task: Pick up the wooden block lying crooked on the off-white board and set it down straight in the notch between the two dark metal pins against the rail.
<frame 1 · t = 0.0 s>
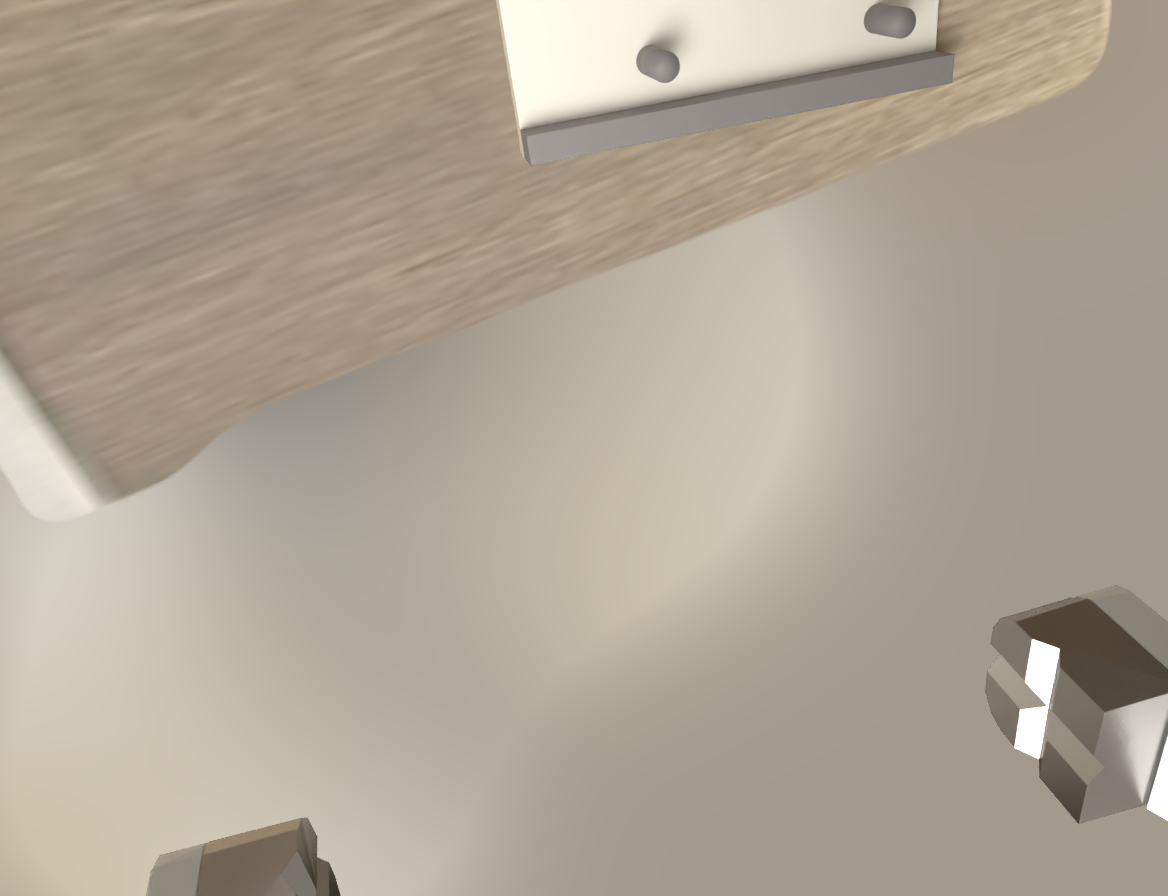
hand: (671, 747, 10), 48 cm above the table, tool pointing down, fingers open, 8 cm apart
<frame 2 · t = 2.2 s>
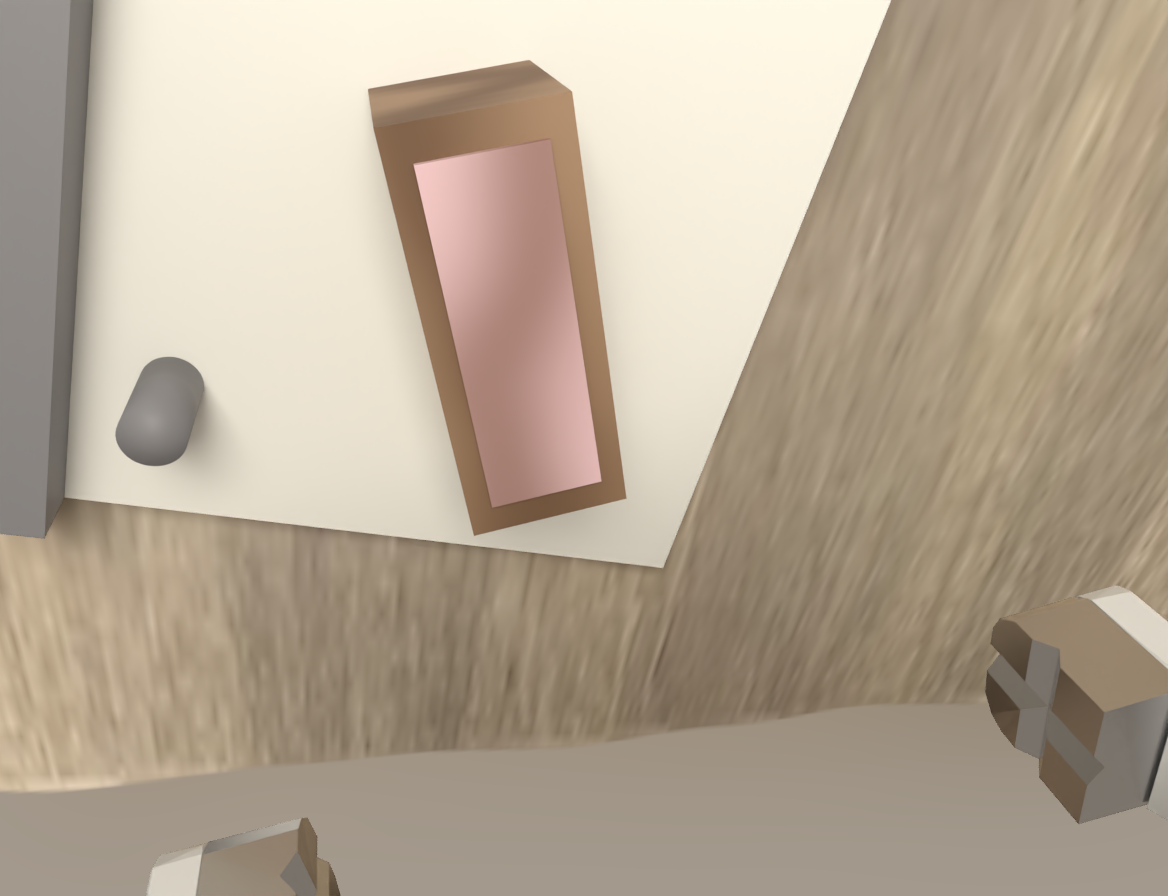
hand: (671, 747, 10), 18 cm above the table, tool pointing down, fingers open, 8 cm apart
wooden block: (487, 268, 25), point 1 cm above the table, touching board
board: (463, 95, 24), on the table
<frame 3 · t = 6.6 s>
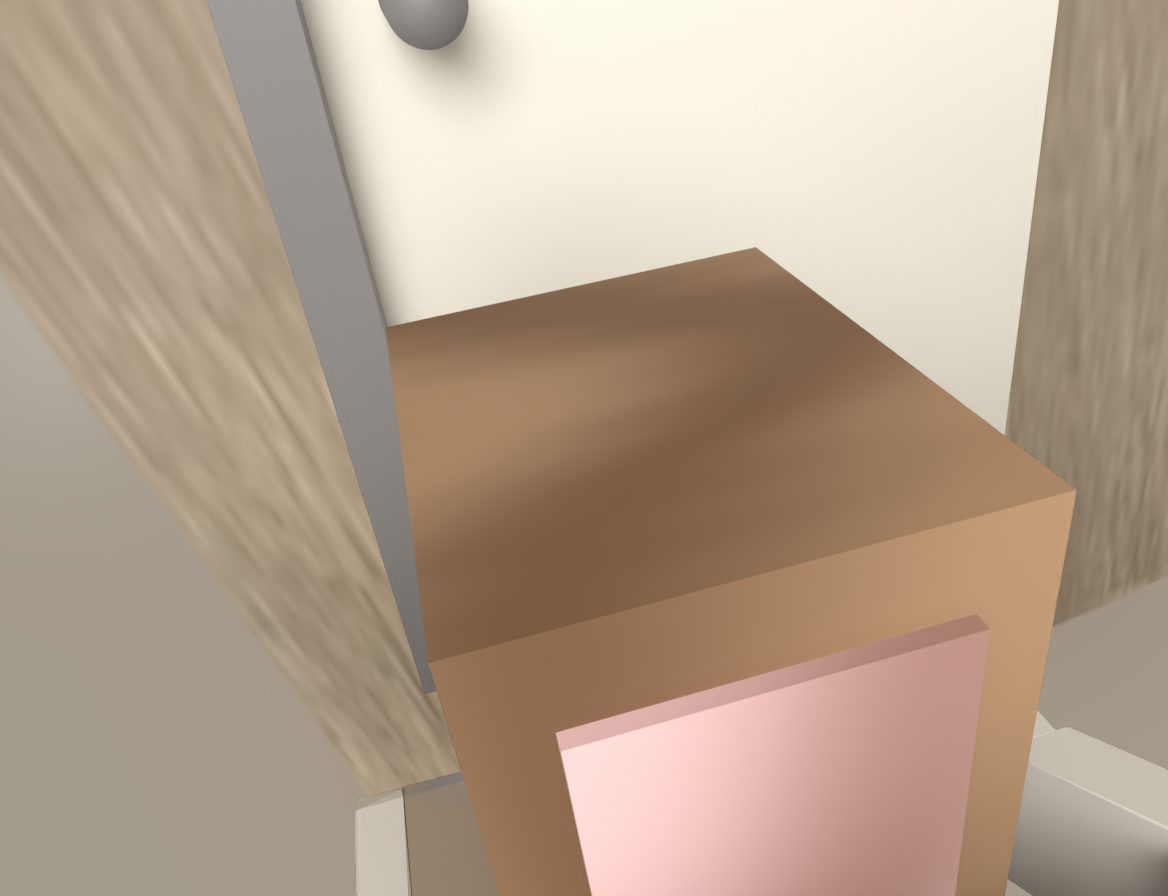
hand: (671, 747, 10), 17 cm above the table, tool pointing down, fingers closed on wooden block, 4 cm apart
wooden block: (627, 639, 12), point 15 cm above the table, touching gripper
board: (678, 161, 24), on the table
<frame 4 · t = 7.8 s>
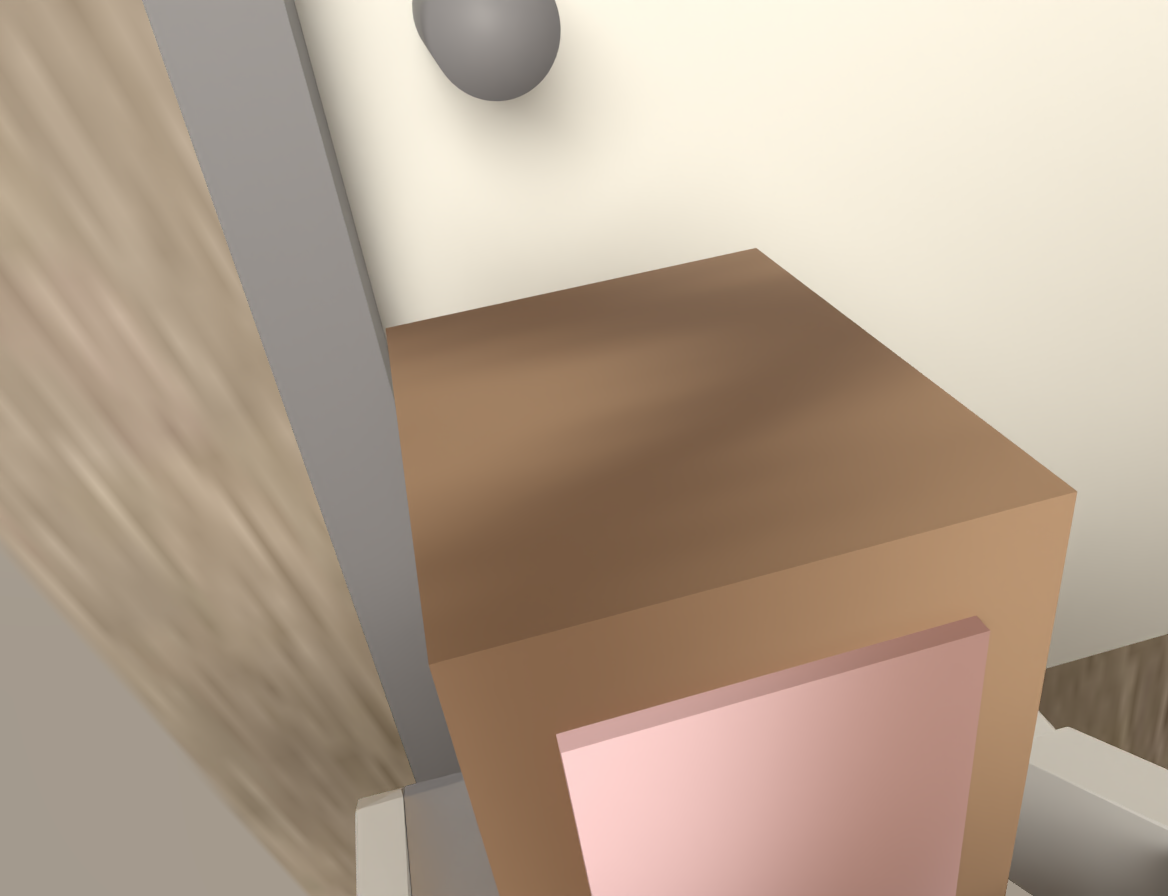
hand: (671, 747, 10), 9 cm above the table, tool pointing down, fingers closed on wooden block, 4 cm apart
wooden block: (627, 640, 12), point 7 cm above the table, touching gripper
board: (811, 232, 18), on the table
when the fingers open (5 cm above the table, at t = 9.0 s): wooden block drops 2 cm, resting on board.
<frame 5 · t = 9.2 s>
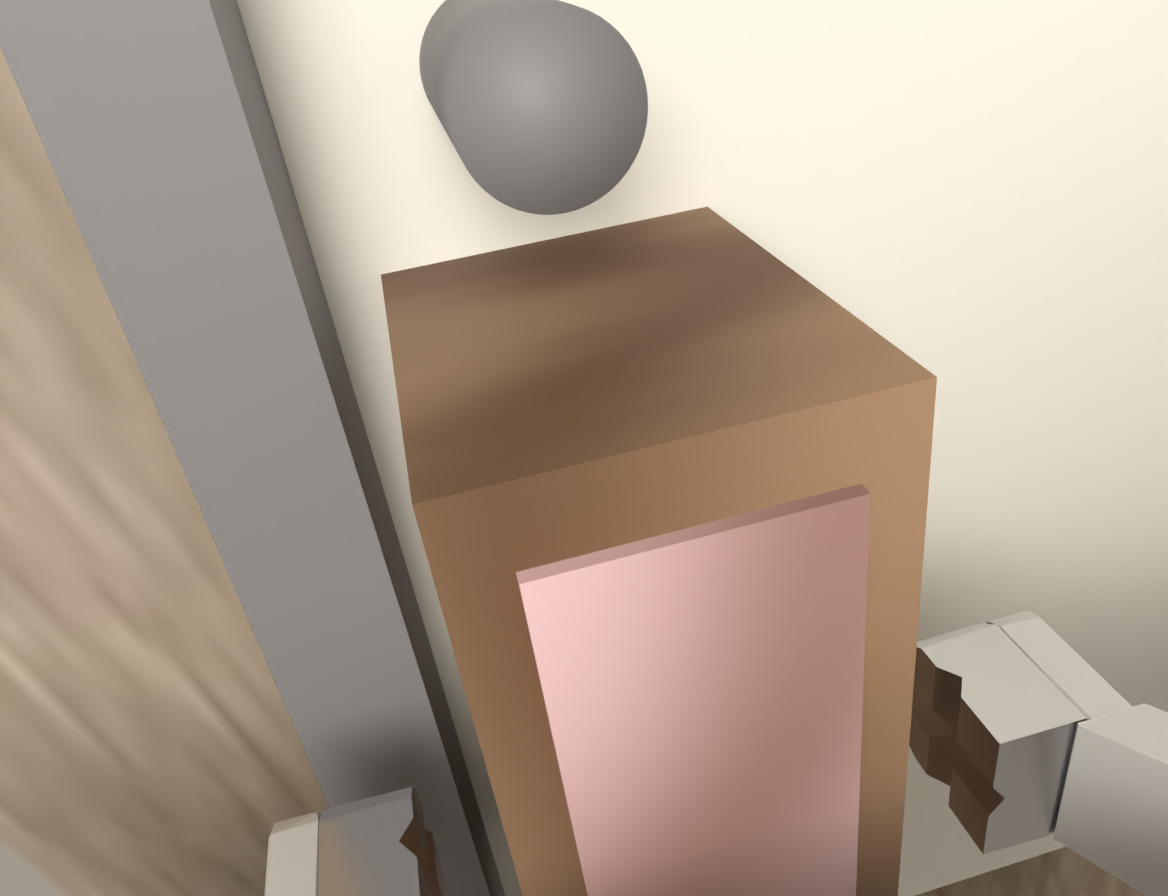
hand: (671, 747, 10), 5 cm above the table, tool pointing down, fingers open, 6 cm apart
wooden block: (600, 567, 13), point 1 cm above the table, touching board
board: (920, 330, 14), on the table
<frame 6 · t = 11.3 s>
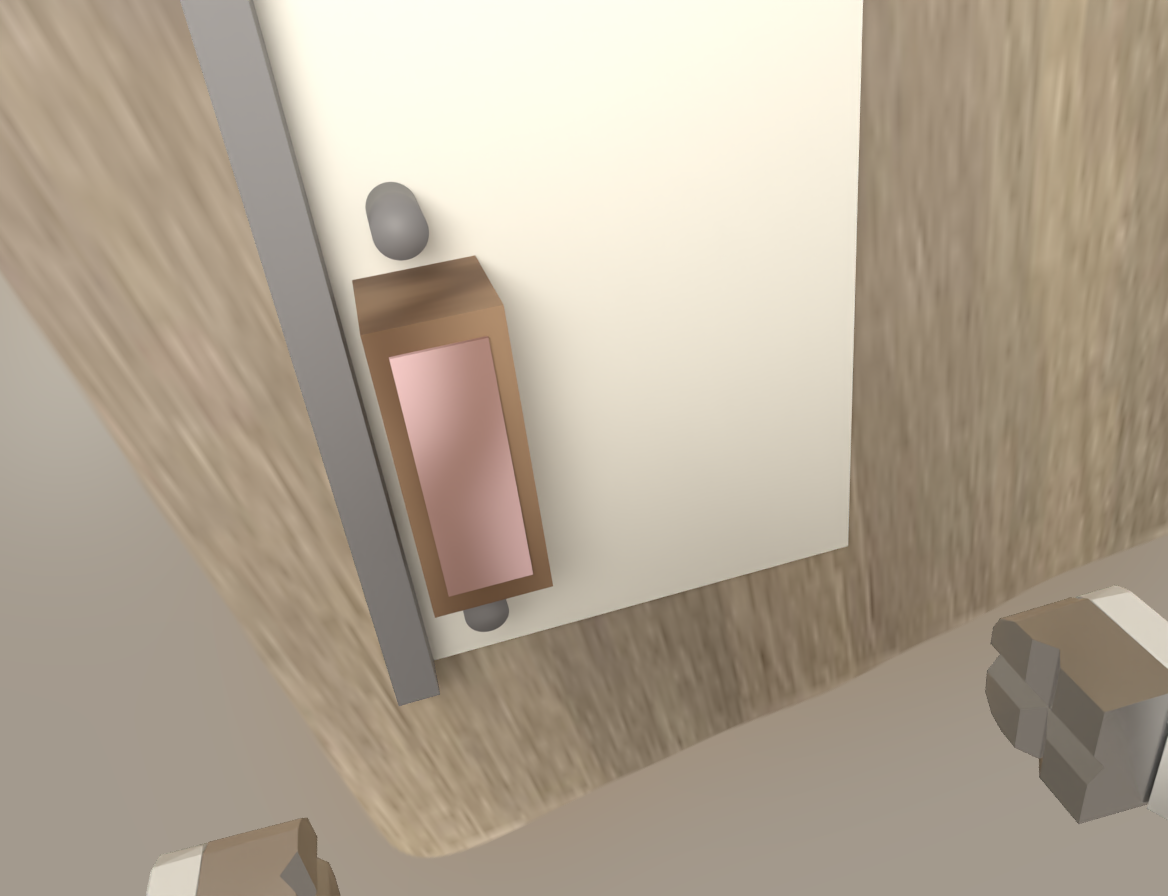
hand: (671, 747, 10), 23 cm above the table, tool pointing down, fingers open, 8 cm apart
wooden block: (444, 404, 32), point 1 cm above the table, touching board
board: (586, 306, 33), on the table
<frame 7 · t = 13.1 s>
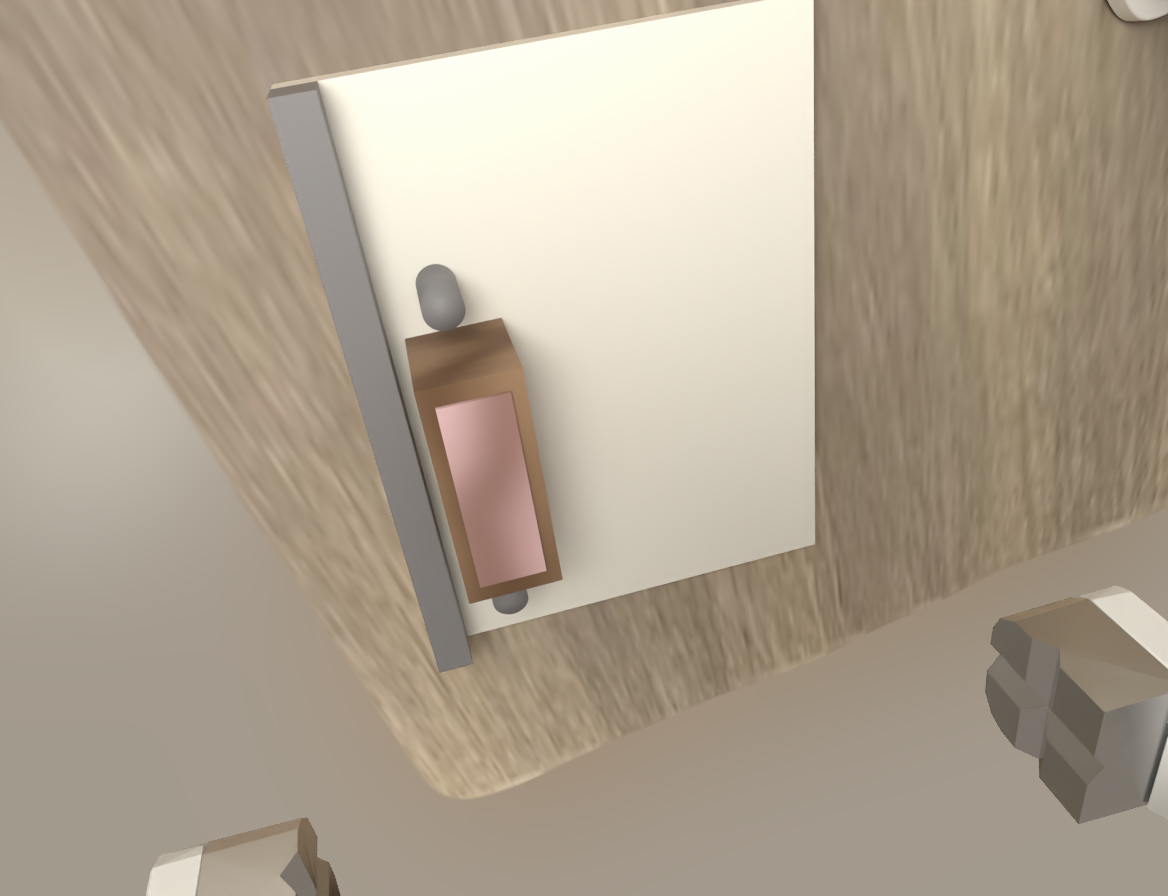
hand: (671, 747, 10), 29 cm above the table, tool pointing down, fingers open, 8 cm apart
wooden block: (477, 433, 40), point 1 cm above the table, touching board
board: (591, 352, 40), on the table
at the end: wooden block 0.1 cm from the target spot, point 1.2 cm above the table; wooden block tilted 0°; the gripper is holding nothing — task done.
